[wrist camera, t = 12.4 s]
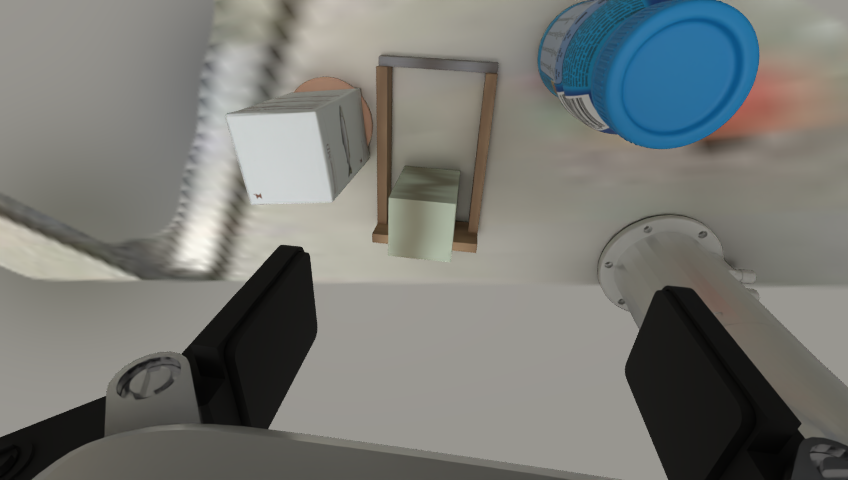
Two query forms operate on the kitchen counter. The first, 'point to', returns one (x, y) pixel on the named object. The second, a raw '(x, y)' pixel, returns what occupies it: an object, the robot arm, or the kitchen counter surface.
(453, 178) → the rack
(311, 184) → the supplement box
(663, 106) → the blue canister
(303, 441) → the robot arm
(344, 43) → the kitchen counter surface
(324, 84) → the coaster
